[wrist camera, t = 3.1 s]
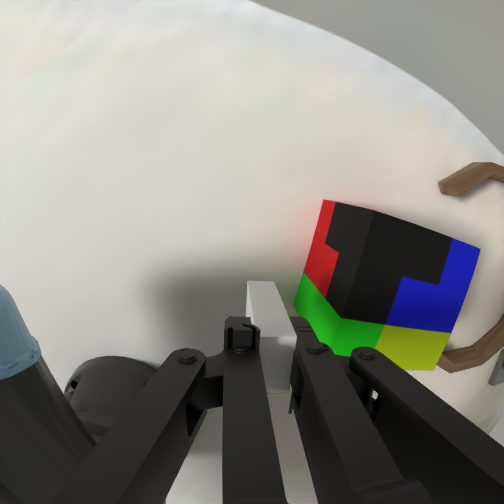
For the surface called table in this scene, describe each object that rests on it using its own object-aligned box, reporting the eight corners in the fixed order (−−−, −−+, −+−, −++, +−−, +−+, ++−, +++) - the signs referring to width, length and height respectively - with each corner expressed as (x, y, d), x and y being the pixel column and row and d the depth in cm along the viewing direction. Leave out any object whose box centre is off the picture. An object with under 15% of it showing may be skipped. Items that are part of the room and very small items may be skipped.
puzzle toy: (412, 227, 27) (480, 249, 18) (382, 320, 29) (433, 370, 20) (323, 199, 26) (373, 210, 16) (293, 305, 28) (323, 363, 18)
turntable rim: (504, 345, 32) (516, 353, 29) (403, 367, 31) (415, 380, 28) (536, 185, 27) (551, 186, 24) (439, 152, 25) (457, 150, 23)
